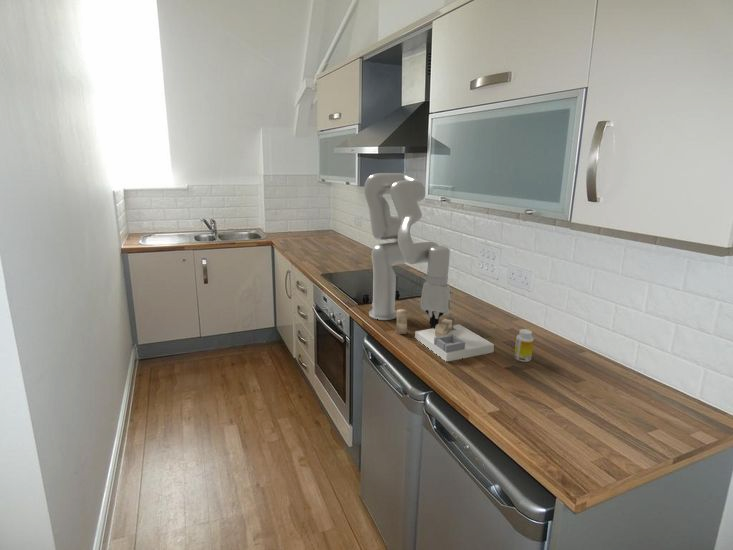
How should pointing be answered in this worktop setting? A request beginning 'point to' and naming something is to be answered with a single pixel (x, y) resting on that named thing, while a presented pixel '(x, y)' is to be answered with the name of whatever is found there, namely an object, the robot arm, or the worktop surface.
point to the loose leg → (401, 321)
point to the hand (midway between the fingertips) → (433, 327)
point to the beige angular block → (444, 326)
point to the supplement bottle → (524, 345)
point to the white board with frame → (455, 343)
